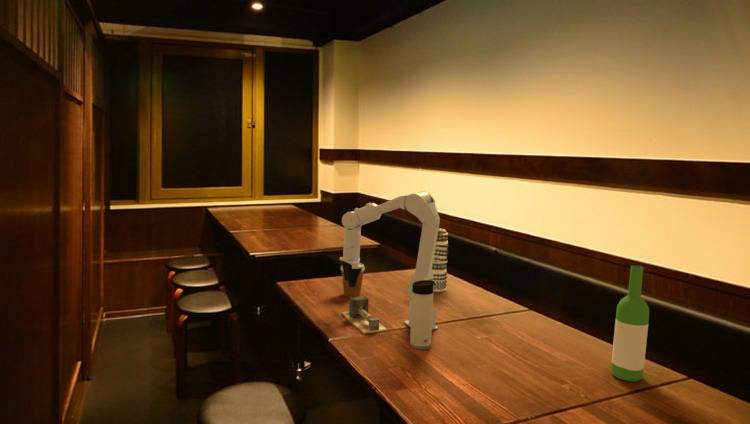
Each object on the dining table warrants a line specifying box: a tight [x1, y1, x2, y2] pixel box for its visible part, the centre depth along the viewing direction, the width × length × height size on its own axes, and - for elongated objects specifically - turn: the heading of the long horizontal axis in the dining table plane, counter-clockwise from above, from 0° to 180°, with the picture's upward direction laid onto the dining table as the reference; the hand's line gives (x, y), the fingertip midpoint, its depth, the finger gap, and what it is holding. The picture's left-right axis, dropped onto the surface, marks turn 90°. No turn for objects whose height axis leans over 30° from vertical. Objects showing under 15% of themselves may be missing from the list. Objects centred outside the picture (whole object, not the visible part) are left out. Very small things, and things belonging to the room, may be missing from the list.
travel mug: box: [409, 280, 435, 351], centre depth 157 cm, size 6×7×20 cm
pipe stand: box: [341, 301, 387, 334], centre depth 177 cm, size 20×8×4 cm, turn 23°
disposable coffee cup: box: [340, 262, 366, 298], centre depth 207 cm, size 10×10×12 cm
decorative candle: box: [432, 227, 450, 293], centre depth 217 cm, size 9×9×25 cm
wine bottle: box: [610, 264, 650, 383], centre depth 139 cm, size 8×8×30 cm
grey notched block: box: [349, 295, 370, 318], centre depth 181 cm, size 3×6×6 cm, turn 114°
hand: (350, 283), depth 186 cm, fingers open, 7 cm apart
